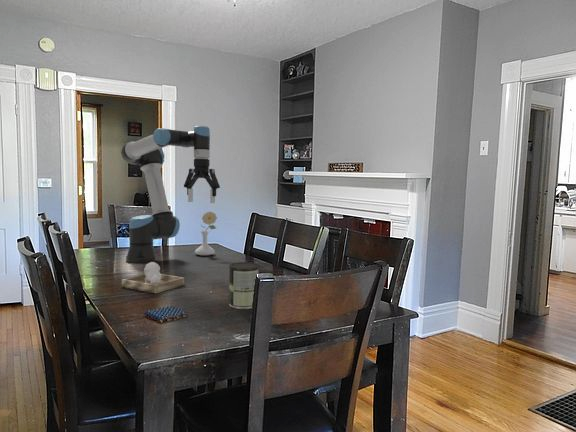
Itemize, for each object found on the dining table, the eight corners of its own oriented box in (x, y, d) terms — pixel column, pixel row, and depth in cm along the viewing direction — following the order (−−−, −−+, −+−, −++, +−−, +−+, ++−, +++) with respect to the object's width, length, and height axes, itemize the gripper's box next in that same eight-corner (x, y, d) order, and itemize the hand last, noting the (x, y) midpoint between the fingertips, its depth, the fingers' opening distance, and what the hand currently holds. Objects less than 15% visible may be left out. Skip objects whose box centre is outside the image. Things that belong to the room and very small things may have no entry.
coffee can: (222, 305, 151) (222, 264, 149) (243, 299, 159) (244, 260, 157) (243, 311, 144) (244, 269, 143) (264, 304, 152) (265, 265, 151)
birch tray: (121, 287, 172) (121, 279, 171) (151, 279, 186) (151, 272, 185) (155, 293, 163) (155, 285, 163) (184, 284, 178) (184, 277, 177)
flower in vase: (190, 255, 244) (191, 211, 241) (200, 252, 254) (200, 210, 252) (211, 257, 240) (212, 212, 238) (220, 254, 251) (221, 211, 249)
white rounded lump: (159, 260, 178) (165, 268, 168) (159, 280, 180) (164, 289, 169) (143, 261, 175) (148, 269, 165) (143, 281, 177) (147, 291, 166)
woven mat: (190, 317, 138) (190, 311, 138) (159, 325, 130) (159, 318, 130) (172, 310, 145) (172, 304, 145) (142, 317, 137) (142, 310, 137)
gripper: (176, 158, 213) (176, 201, 215) (217, 158, 202) (217, 203, 203) (186, 159, 220) (186, 201, 221) (227, 159, 208) (226, 203, 210)
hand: (201, 202), depth 212 cm, fingers open, 13 cm apart
